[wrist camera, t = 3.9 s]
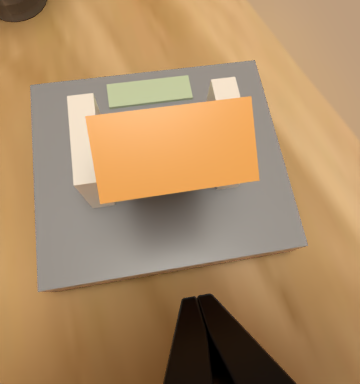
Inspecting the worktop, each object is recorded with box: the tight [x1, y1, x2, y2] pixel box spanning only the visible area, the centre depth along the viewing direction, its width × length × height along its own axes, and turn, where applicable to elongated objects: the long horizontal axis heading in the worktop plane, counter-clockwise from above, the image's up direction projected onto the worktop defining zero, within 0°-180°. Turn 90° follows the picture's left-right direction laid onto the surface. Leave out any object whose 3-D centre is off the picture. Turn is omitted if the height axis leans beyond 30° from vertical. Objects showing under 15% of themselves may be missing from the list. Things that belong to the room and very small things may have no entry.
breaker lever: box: [85, 96, 260, 204], centre depth 13 cm, size 2×5×9 cm, turn 100°
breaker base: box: [30, 60, 308, 292], centre depth 17 cm, size 12×14×6 cm
